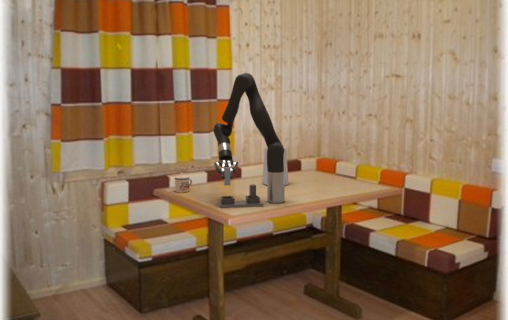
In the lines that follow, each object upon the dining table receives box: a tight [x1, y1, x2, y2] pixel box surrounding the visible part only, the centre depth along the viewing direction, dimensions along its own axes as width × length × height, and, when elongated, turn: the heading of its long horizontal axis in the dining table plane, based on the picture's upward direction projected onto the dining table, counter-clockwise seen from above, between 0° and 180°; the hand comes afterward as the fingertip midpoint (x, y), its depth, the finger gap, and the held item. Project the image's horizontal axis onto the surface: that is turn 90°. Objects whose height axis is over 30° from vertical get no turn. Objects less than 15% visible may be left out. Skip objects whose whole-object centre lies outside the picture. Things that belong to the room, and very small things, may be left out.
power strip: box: [216, 183, 264, 209], centre depth 295 cm, size 24×10×11 cm, turn 99°
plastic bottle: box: [261, 145, 289, 187], centre depth 354 cm, size 15×15×28 cm
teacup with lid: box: [174, 172, 193, 193], centre depth 334 cm, size 12×9×12 cm
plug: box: [223, 167, 231, 186], centre depth 293 cm, size 3×4×10 cm
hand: (227, 178), depth 291 cm, fingers closed on plug, 3 cm apart
